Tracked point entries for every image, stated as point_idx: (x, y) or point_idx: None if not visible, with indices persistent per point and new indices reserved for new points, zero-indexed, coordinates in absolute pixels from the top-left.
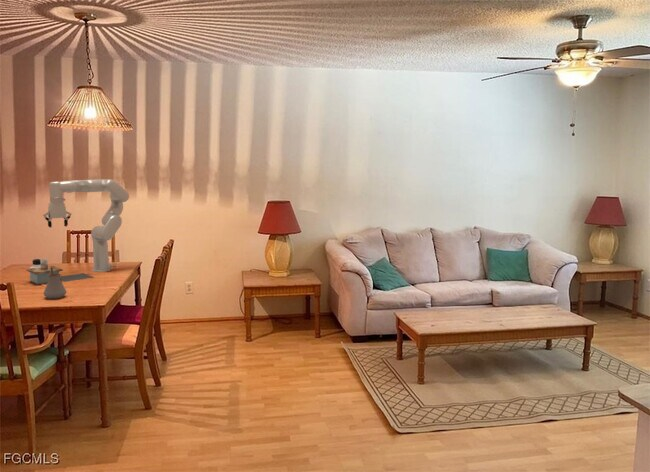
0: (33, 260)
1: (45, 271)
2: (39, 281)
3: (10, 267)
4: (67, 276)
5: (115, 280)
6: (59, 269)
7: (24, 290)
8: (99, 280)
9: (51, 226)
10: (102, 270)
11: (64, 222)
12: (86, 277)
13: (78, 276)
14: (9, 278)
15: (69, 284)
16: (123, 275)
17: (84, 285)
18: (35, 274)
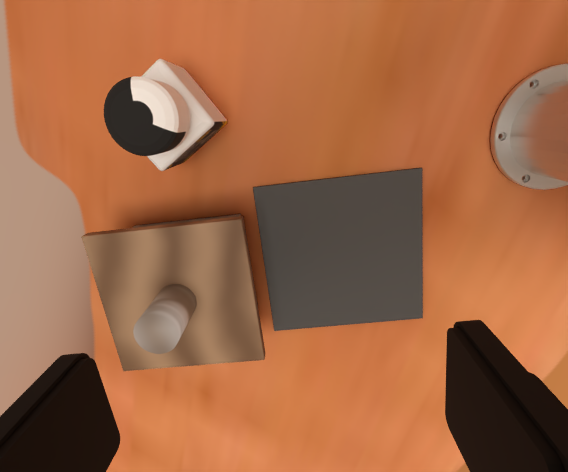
0: (108, 128)
1: (174, 366)
2: None
3: None
4: (318, 214)
5: None
6: (247, 359)
7: (105, 388)
8: (413, 378)
9: (108, 459)
10: (534, 186)
11: (498, 419)
12: (388, 298)
13: (365, 249)
14: (29, 52)
15: (279, 382)
16: (557, 336)
17: (324, 430)
18: None
